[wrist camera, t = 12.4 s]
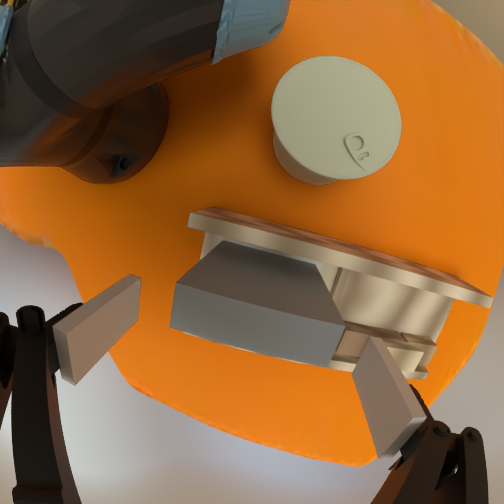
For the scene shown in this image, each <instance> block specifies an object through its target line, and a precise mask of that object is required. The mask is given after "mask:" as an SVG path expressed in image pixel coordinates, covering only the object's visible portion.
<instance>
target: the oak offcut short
mask: <svg viewBox="0 0 504 504" xmlns="http://www.w3.org/2000/svg"><path fill="white" fill-rule="evenodd" d="M400 335H401V336H402V337H403V339H404V340H405V342H408V343H415V344H418V345H419V346H420V348H421V349H422V350H423V351H424V354H423V356H422V358H421V359H420V361H419V363H418V365H422V366H427V365H428V364H429V362H430V360H431V358H432V356H433V354H434V352H435V351H436V349H437V347H438V346H437V345H436V344H435V343H434V342H433V340H432V339H431V338H430V337H426V336H420V335H414V334H409V333H403V332H401V333H400Z"/></svg>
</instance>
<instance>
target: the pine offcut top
mask: <svg viewBox="0 0 504 504" xmlns="http://www.w3.org/2000/svg"><path fill="white" fill-rule="evenodd" d="M372 337H374V336H372ZM369 338H370V336H369ZM369 338H368V340H369ZM377 338H380V337H377ZM381 339H382V340H383V342H384V343H385V345H386V347H387V348H388V350H389V352H390V353H391V355H392V357H393V358H394V360H395V362H396V363H397V365H398V367H399V368H400V370H401V371H407V372H414V370H415V369H416V367H417V365H418V363H419V361H420V359H421V358H422V356H423V354H424V351H423V350H422V349H421V348H420V346H419V345H418V344H415V343H408V342H402V341H396V340H391V339H385V338H381ZM368 340H367V342H368ZM366 344H367V343H366ZM365 346H366V345H365ZM364 348H365V347H364ZM363 350H364V349H363ZM362 352H363V351H362ZM361 354H362V353H361ZM360 356H361V355H360Z"/></svg>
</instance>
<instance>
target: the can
mask: <svg viewBox="0 0 504 504" xmlns="http://www.w3.org/2000/svg"><path fill="white" fill-rule="evenodd" d="M271 117H272V122H273V126H274V134H273V146H274V151H275V154H276V157H277V159H278V161H279V162H280V164H281V165H282V167H283V168H284V169H285V170H286V171H287V172H288V173H289V174H290V175H292V176H293V177H294V178H296V179H298V180H300V181H302V182H305V183H309V184H314V185H324V184H329V183H333V182H335V181H338V180H351V179H358V178H362V177H365V176H368V175H370V174H373V173H374V172H376V171H378V170H379V169H381V168H382V167H383V166H384V165H385V164H386V163H387V162H388V161H389V160H390V159H391V157H392V156H393V154H394V153H395V151H396V149H397V146H398V144H399V140H400V136H401V116H400V111H399V108H398V105H397V102H396V100H395V98H394V96H393V94H392V92H391V91H390V89H389V88H388V86H387V85H386V84H385V83H384V81H383V80H382V79H381V78H380V77H379V76H378V75H376V74H375V73H374V72H373V71H371V70H370V69H368V68H367V67H365V66H364V65H362V64H360V63H358V62H355V61H353V60H350V59H347V58H342V57H336V56H319V57H314V58H310V59H307V60H304V61H302V62H300V63H298V64H296V65H295V66H293V67H292V68H290V69H289V70H288V71H287V72H286V73H285V74H284V75H283V76H282V78H281V79H280V80H279V82H278V84H277V86H276V88H275V90H274V93H273V97H272V102H271Z"/></svg>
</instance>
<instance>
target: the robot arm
mask: <svg viewBox="0 0 504 504" xmlns="http://www.w3.org/2000/svg"><path fill="white" fill-rule="evenodd" d="M289 4H290V0H29V1H28V2H27V3H26V4H25V5H24V6H23V7H22V8H20V9H19V10H17V11H16V10H14V9H13V6H11V5H8V6H1V5H0V167H10V166H52V167H53V166H54V167H62V168H63V169H65V170H66V171H68V172H70V173H71V174H73V175H75V176H76V177H78V178H80V179H82V180H84V181H86V182H90V183H95V184H111V183H117V182H120V181H123V180H126V179H128V178H130V177H131V176H133V175H134V174H136V173H137V172H139V171H140V170H141V169H142V168H143V167H144V166H145V165H146V164H147V163H148V162H149V161H150V159H151V158H152V157H153V155H154V154H155V152H156V151H157V149H158V147H159V146H160V144H161V141H162V139H163V137H164V134H165V131H166V127H167V122H168V111H169V110H168V100H167V96H166V93H165V91H164V89H163V87H162V85H161V84H160V81H162V80H165V79H167V78H170V77H172V76H174V75H177V74H180V73H182V72H185V71H188V70H191V69H193V68H196V67H199V66H202V65H205V64H209V63H211V64H216V63H219V62H220V60H221V59H223V58H226V57H229V56H232V55H235V54H238V53H241V52H244V51H247V50H250V49H253V48H257V47H261V46H263V45H265V44H267V43H269V42H271V41H272V40H273V39H274V38H276V37H277V35H278V34H279V33H280V31H281V30H282V28H283V26H284V23H285V20H286V16H287V14H288V10H289ZM140 287H141V278H140V277H137V276H134V275H131V274H129V275H128V276H126V277H124V278H123V279H121V280H120V281H118V282H117V283H115V284H114V285H112V286H111V287H109V288H108V289H106V290H104V291H103V292H101V293H100V294H98V295H97V296H95V297H94V298H92V299H91V300H90V301H88V302H87V303H85V304H83V303H77V304H73V305H71V306H69V307H68V308H66V309H65V310H63V311H61V312H60V313H59V314H57V315H56V316H54V317H52V318H51V319H49V320H48V321H46V322H45V314H44V311H43V310H42V309H41V308H40V307H38V306H33V305H28V306H24V307H21V308H20V309H18V310H17V312H16V317H17V323H18V327H16V326H12V325H10V324H9V318H8V316H7V315H6V314H5V313H3V312H0V429H1V425H2V421H3V417H4V413H5V410H6V407H7V404H8V400H9V397H10V394H11V391H12V401H11V405H12V406H11V425H12V426H11V427H12V445H13V457H14V466H15V473H16V480H17V485H16V486H15V487H14V488H13V490H12V496H13V502H14V504H82V503H81V500H80V497H79V494H78V491H77V488H76V485H75V482H74V478H73V475H72V471H71V467H70V464H69V460H68V455H67V451H66V446H65V442H64V436H63V432H62V425H61V419H60V412H59V404H58V396H57V387H56V386H57V385H56V376H55V372H56V371H57V370H58V369H60V372H61V377H62V379H64V380H66V381H68V382H69V383H71V384H73V385H74V386H75V385H76V384H77V383H78V382H79V381H80V380H81V379H82V378H83V377H84V376H85V375H86V374H87V373H88V371H89V370H90V369H91V368H92V367H93V366H94V365H95V364H96V363H97V361H99V360H100V359H101V358H102V357H103V356H104V354H106V352H107V351H108V350H109V349H110V348H111V347H112V346H113V345H114V344H115V343H116V342H117V341H118V340H119V339H120V338H121V337H122V336H123V335H124V334H125V333H126V332H127V331H128V330H129V329H130V328H131V327H132V326H133V325H134V324H135V323H136V322H137V321H138V311H139V298H140ZM352 377H353V380H354V383H355V386H356V388H357V391H358V394H359V397H360V400H361V403H362V407H363V410H364V413H365V416H366V419H367V422H368V425H369V429H370V432H371V435H372V438H373V442H374V445H375V448H376V452H377V455H378V458H379V459H380V458H381V459H382V458H392V457H393V456H394V455H395V454H396V453H397V452H398V451H399V450H400V452H401V454H402V456H401V457H400V458H399V459H398V460H397V461H396V462H395V463H394V464H393V465H392V466H391V467H390V468H389V470H391V469H392V468H393V469H392V471H391V473H390V474H389V476H388V478H387V479H386V481H385V482H384V484H383V486H382V487H381V489H380V490H379V492H378V493H377V495H376V497H375V498H374V499H373V501H372V502H371V504H488V481H487V469H486V460H485V453H484V446H483V440H482V436H481V434H480V433H479V431H478V430H477V429H475V428H472V427H466V428H465V429H464V430H463V431H462V432H461V434H455V433H451V431H450V429H449V427H448V426H447V425H446V424H444V423H443V422H441V421H434V419H433V417H432V416H431V414H430V412H429V410H428V408H427V406H426V405H425V404H424V401H423V399H421V396H420V394H419V392H418V391H417V390H416V389H415V388H414V387H413V386H412V385H411V384H408V382H407V380H406V379H405V377H404V375H403V373H402V372H401V370H400V368H399V367H398V365H397V363H396V362H395V360H394V358H393V357H392V355H391V353H390V352H389V350H388V348H387V347H386V345H385V343H384V342H383V340H382V339H381V338H377V337H372V336H370V338H369V340H368V342H367V344H366V346H365V348H364V350H363V352H362V354H361V356H360V358H359V360H358V362H357V364H356V366H355V368H354V370H353V372H352ZM457 468H458V469H457ZM455 469H457V472H456V473H455Z"/></svg>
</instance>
